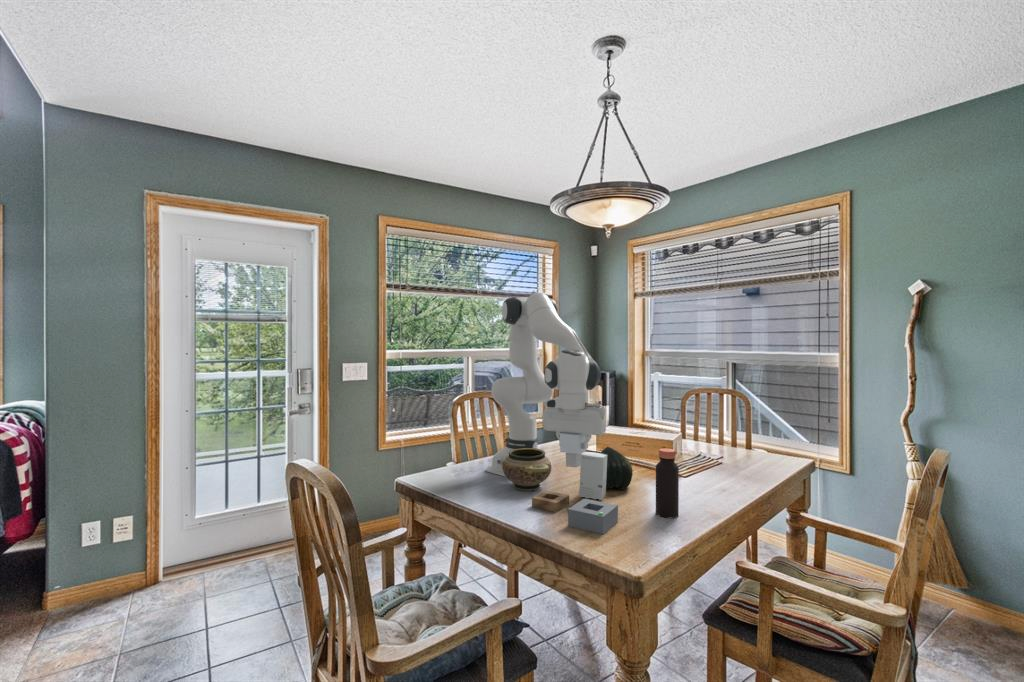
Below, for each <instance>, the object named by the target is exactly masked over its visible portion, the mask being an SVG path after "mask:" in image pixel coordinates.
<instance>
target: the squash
mask: <svg viewBox="0 0 1024 682" xmlns="http://www.w3.org/2000/svg"><path fill="white" fill-rule="evenodd" d="M599 453H600V454H607V476H606V488H608V489H613V488H617V489H618V488H619V490H625V489H627V488H628V487H629V486H630V484H631V481H632V479H633V473H634V472H633V471H634V469H633V467H632V464H631V462H630V461H629V459H628V458H627V457H626V456H625V455H624V454H622V453H620V452H619V451H617V450H615V449H614V448H612V447H610V446H606V447H605V448H603V449H602V450H601V451H600V452H599Z"/></svg>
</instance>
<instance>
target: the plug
mask: <svg viewBox="0 0 1024 682" xmlns="http://www.w3.org/2000/svg"><path fill="white" fill-rule="evenodd" d="M585 439H586V438H585V437H584V434H578V433H568V432H563V433H561V434H560V445H559V447H560V448H559V450H560V453H565V467H567V468H568V467H569V468H576V469H577V468H579V467H581V454H582V453H584V452H587V449H582V448H581V443H583V442H584V441H585Z"/></svg>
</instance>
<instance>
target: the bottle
mask: <svg viewBox="0 0 1024 682" xmlns="http://www.w3.org/2000/svg"><path fill="white" fill-rule="evenodd" d="M676 453H677V452H676V450H675V449H673V448H663V447H662V448H660V449H659V450H658V458H659V462H657V464H656V465H655V514H656V515H657V516H659V515H660V516H659V517H662V516H663V517H662V518H667V517H673V518H677V517H678V516H679V511H680V510H679V507H680V506H679V500H680V498H679V497H680V496H679V495H680V493H679V490H680V489H679V488H680V487H679V486H680V485H679V482H680V481H679V480H680V479H679V477H680V475H679V473H680V472H679V469H680V468H679V465H677V463H676V461H675V460H676V457H677V456H676ZM676 516H677V517H676Z"/></svg>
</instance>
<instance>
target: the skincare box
mask: <svg viewBox="0 0 1024 682" xmlns="http://www.w3.org/2000/svg"><path fill="white" fill-rule="evenodd" d="M600 453H601V452H594V451H593V452H592V451H584V452H582V453H581V466H580V469H579V470H580V471H579V473H580V474H579V475H580V476H579V492H578V494H579V495H578V497H579V498H581V497H585V498H584V499H589V498H593V499H592V500H596V499H599V500H598V501H603V500H604V498H605V497H606V496H607V492H606V491H607V489H606V476H607V454H600ZM605 495H606V496H605Z"/></svg>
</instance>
